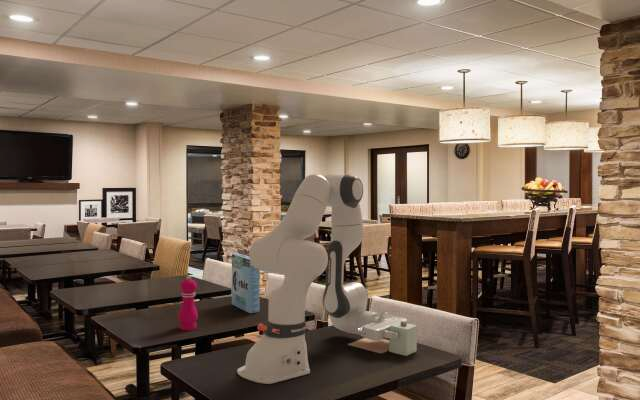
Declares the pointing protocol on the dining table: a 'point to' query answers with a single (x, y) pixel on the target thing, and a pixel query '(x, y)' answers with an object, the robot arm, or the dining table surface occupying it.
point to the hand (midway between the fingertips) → (405, 332)
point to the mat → (372, 345)
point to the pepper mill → (188, 305)
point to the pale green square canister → (403, 338)
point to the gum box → (245, 284)
